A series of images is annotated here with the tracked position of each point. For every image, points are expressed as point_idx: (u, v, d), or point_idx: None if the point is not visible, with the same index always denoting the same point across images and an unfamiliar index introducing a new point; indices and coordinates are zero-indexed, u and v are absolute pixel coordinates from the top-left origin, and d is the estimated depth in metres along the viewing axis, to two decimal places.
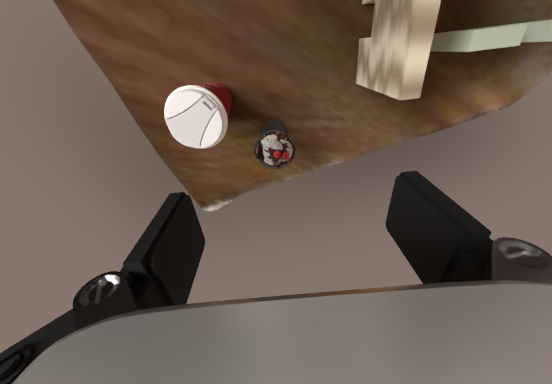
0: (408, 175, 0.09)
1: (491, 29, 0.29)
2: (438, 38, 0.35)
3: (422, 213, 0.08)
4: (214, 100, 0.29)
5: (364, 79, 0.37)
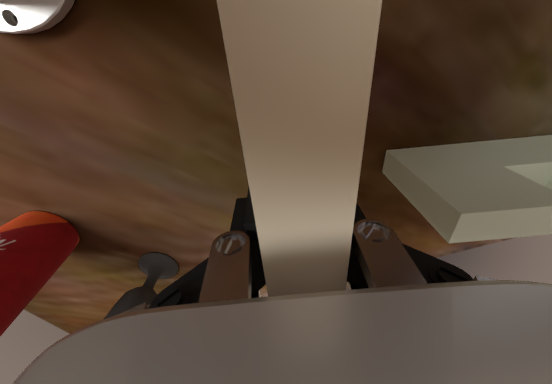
0: None
1: (499, 213, 0.13)
2: (401, 171, 0.19)
3: None
4: None
5: None
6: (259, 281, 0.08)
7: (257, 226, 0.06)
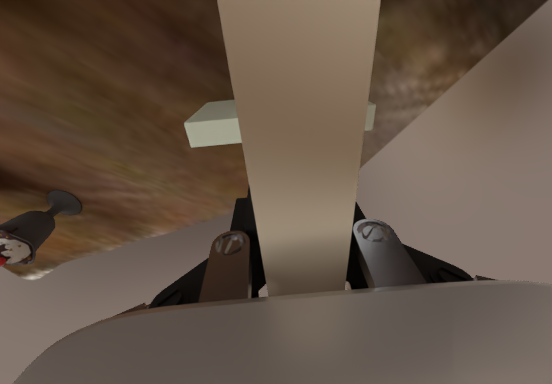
0: None
1: (208, 122, 0.21)
2: None
3: None
4: None
5: None
6: (259, 281, 0.08)
7: (257, 225, 0.06)
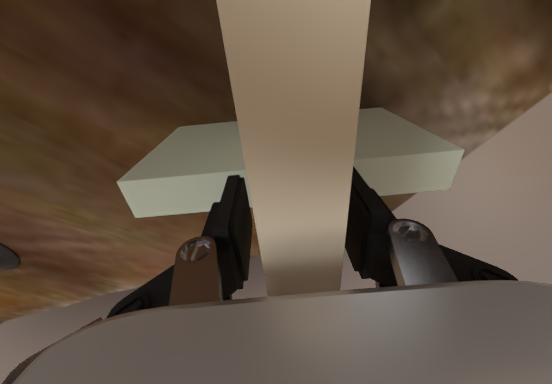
0: None
1: (160, 181, 0.12)
2: None
3: None
4: None
5: None
6: (228, 287, 0.08)
7: (255, 217, 0.06)
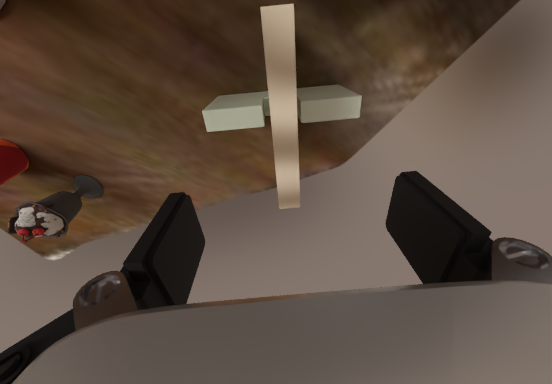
0: (408, 175, 0.09)
1: (222, 110, 0.26)
2: None
3: (422, 213, 0.08)
4: None
5: None
6: None
7: (269, 99, 0.20)
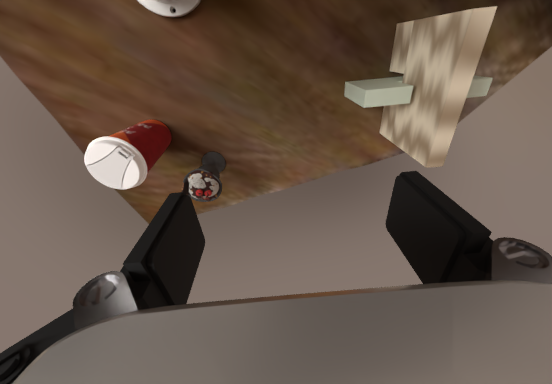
0: (408, 175, 0.09)
1: (381, 90, 0.32)
2: (350, 88, 0.39)
3: (422, 213, 0.08)
4: (130, 150, 0.32)
5: (389, 134, 0.42)
6: None
7: (453, 77, 0.26)
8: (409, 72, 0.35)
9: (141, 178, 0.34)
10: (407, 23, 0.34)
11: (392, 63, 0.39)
